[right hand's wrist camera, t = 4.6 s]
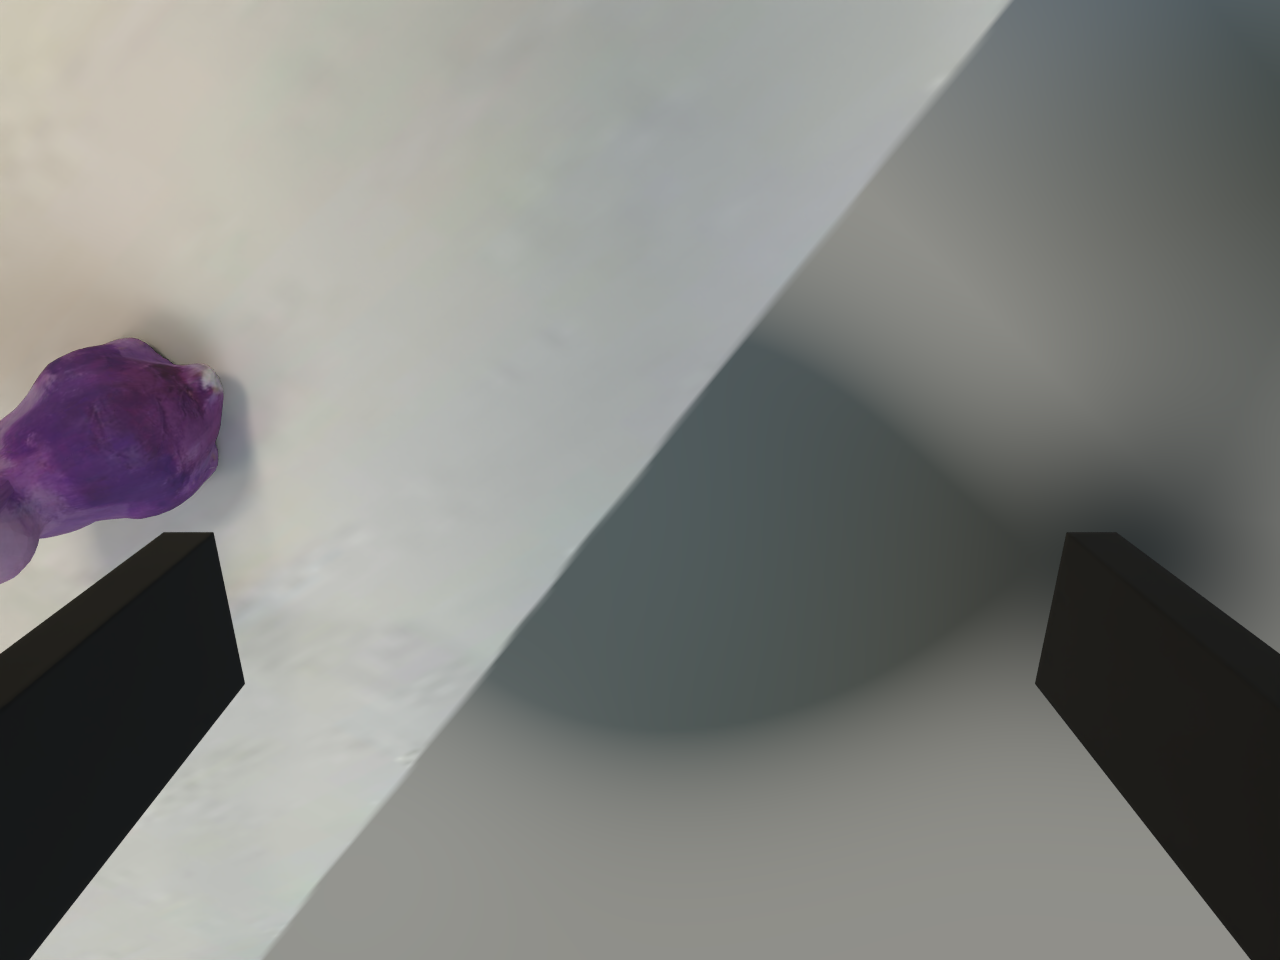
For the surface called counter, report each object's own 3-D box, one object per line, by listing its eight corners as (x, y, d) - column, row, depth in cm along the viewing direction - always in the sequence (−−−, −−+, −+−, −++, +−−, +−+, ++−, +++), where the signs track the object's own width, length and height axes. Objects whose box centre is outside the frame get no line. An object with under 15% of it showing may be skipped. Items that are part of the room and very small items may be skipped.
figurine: (49, 504, 42) (-247, 667, 28) (43, 313, 38) (-299, 391, 24) (231, 541, 43) (32, 718, 29) (242, 357, 39) (20, 457, 25)
